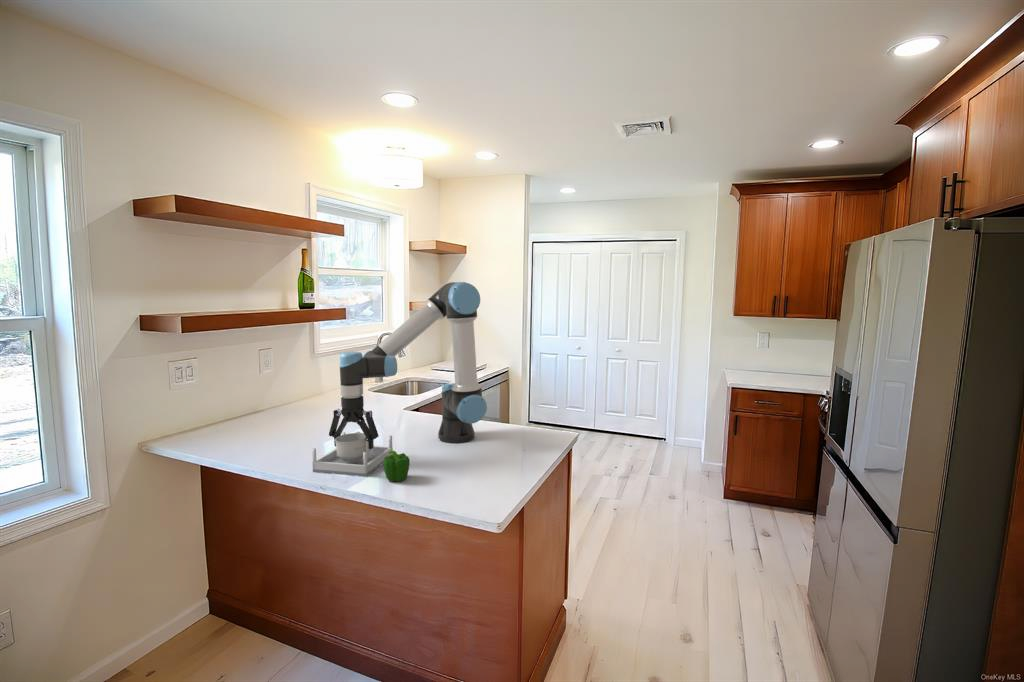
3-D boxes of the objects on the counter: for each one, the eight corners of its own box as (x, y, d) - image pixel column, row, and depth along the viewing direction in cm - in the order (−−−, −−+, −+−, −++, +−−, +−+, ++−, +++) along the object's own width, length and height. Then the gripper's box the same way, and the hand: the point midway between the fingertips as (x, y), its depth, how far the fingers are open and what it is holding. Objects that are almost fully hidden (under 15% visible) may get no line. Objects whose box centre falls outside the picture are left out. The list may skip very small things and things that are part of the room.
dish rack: (393, 456, 185) (392, 435, 184) (366, 476, 166) (365, 453, 165) (343, 452, 190) (343, 432, 189) (312, 471, 170) (311, 449, 169)
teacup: (358, 464, 170) (357, 442, 169) (329, 462, 172) (328, 440, 171) (377, 451, 183) (376, 430, 182) (350, 449, 185) (349, 428, 184)
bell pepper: (412, 474, 168) (411, 445, 167) (407, 484, 160) (407, 454, 159) (387, 474, 168) (386, 445, 166) (381, 484, 159) (380, 454, 158)
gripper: (387, 395, 176) (389, 455, 179) (328, 392, 181) (330, 450, 183) (377, 399, 169) (379, 462, 171) (316, 396, 174) (319, 457, 176)
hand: (354, 456), depth 177 cm, fingers closed on teacup, 11 cm apart
